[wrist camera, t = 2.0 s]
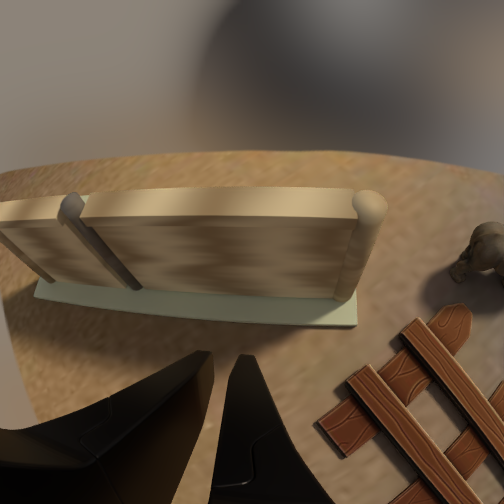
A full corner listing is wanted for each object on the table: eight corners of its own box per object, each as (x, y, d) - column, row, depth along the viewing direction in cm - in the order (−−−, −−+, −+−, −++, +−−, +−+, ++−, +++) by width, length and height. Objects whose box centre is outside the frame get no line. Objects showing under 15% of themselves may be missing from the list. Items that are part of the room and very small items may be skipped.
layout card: (35, 298, 26) (32, 295, 26) (75, 198, 32) (73, 196, 32) (356, 326, 22) (357, 324, 22) (347, 194, 28) (347, 191, 28)
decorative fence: (456, 579, 9) (561, 453, 12) (465, 585, 8) (573, 451, 11) (306, 411, 20) (441, 290, 23) (307, 410, 19) (450, 281, 22)
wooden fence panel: (44, 282, 26) (-27, 220, 17) (49, 266, 27) (-17, 201, 18) (142, 293, 25) (72, 213, 16) (147, 273, 26) (83, 188, 16)
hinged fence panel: (144, 292, 25) (79, 217, 16) (149, 272, 25) (90, 192, 17) (353, 302, 22) (390, 220, 14) (352, 280, 23) (384, 191, 15)
